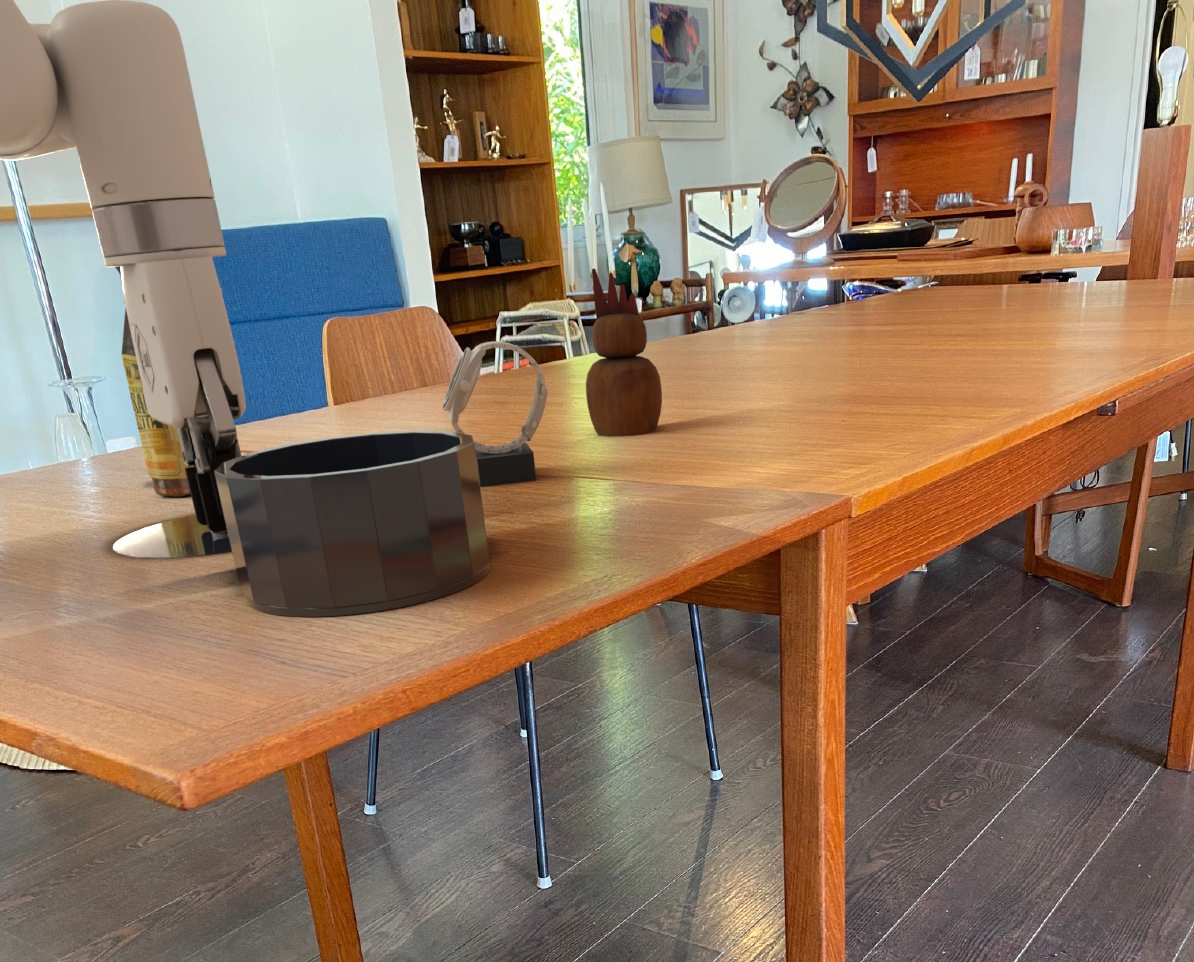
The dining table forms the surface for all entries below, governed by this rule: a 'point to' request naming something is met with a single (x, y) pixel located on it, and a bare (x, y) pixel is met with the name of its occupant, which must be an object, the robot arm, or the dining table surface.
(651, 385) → the wooden figurine
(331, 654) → the dining table surface
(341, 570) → the dark grey round bin
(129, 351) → the sauce bottle
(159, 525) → the lid
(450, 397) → the watch
